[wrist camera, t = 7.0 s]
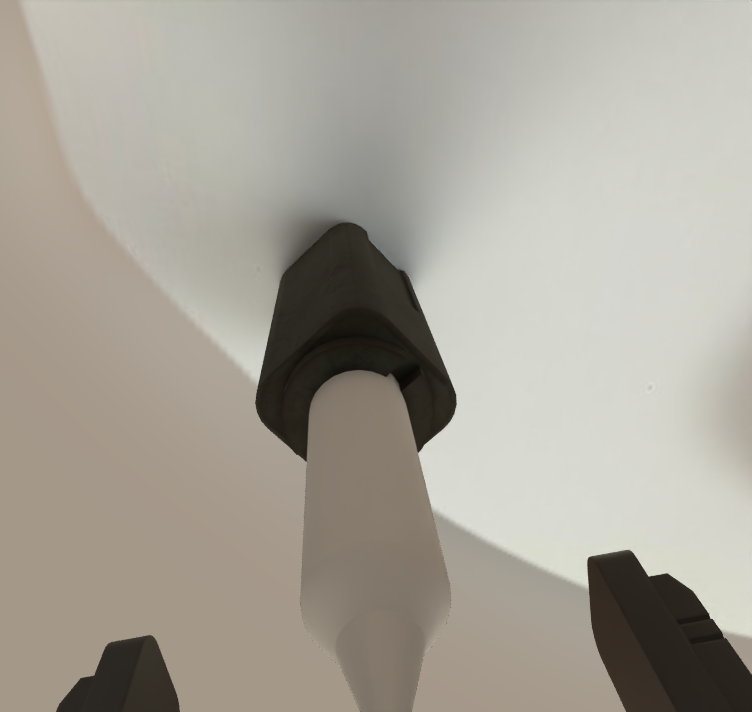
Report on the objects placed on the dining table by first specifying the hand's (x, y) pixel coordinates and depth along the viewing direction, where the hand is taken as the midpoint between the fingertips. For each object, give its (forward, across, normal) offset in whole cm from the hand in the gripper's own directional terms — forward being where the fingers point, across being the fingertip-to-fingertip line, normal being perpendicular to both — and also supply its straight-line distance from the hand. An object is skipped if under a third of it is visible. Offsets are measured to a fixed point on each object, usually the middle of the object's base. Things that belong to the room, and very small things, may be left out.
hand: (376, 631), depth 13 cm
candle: (+22, 0, 0) cm, 22 cm away
